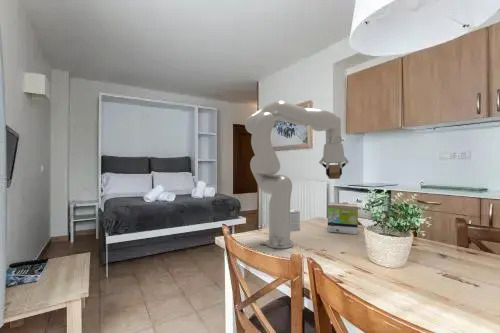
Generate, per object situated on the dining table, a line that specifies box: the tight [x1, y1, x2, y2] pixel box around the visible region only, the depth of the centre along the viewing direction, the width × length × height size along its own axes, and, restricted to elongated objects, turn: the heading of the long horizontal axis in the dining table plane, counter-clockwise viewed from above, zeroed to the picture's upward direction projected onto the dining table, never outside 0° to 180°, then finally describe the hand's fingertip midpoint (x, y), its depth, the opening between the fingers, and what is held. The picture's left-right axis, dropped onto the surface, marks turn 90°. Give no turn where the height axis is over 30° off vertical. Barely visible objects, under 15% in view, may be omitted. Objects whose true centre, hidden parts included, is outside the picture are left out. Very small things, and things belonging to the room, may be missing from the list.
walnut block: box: [327, 164, 341, 180], centre depth 135 cm, size 5×5×7 cm
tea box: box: [327, 201, 359, 235], centre depth 142 cm, size 15×10×15 cm, turn 73°
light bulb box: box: [290, 207, 301, 232], centre depth 148 cm, size 11×7×11 cm, turn 25°
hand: (333, 176), depth 135 cm, fingers closed on walnut block, 5 cm apart
